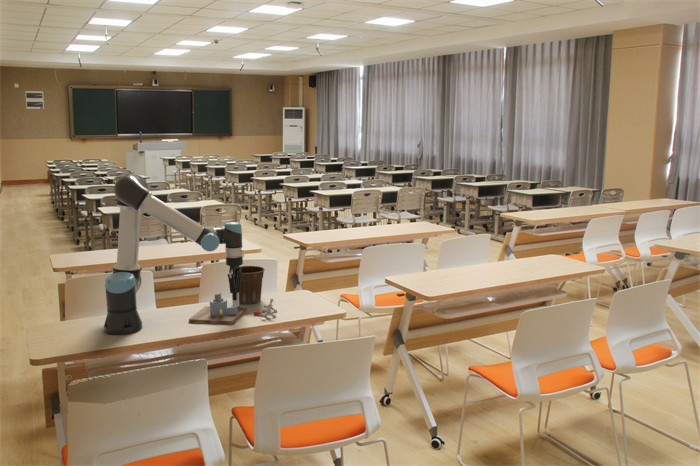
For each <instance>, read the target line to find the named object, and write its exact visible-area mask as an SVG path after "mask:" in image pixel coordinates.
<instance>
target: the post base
mask: <svg viewBox="0 0 700 466" xmlns="http://www.w3.org/2000/svg"><path fill="white" fill-rule="evenodd" d="M213 297H214V299H215V302H221V301H222V300H221V298H222V293H220V292H217V293H216V292H215V293H214V296H213ZM247 309H248V307H240V306H239V307H237V314H236V315H233V314H225V315H222V316H223V317H222V318H220V316H213V315H211V314H210V305H205V306H204V307H202V308H201V309H200V310H199V311H198V312H196V313H194V314H193V316H191V317H190V318H189V319H188V323H191V324H193V323H195V324H213V325H217V324H218V325H234V324H235V323H236V322H237V321H238V320H239V319H240V318H241V317H242V316H243V315H244V314H246V312H247V311H248V310H247Z"/></svg>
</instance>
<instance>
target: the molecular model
mask: <svg viewBox="0 0 700 466" xmlns="http://www.w3.org/2000/svg"><path fill="white" fill-rule="evenodd" d="M273 302H274V298H270V299H269V304H264V307H263V308H262V309H261V310H255V311H254V312H253V315H254V316H258V315H260V314H261V316H262V318H263V317H265V318H266V315H270V316H272V318H273V319H275V318H276V317H277V315H276V314H274V313H277V312H278V310H277V309H275V308H274V307H273ZM272 311H273V313H272Z"/></svg>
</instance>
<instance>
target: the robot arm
mask: <svg viewBox="0 0 700 466" xmlns="http://www.w3.org/2000/svg"><path fill="white" fill-rule="evenodd" d="M148 187H149V186H148V184H147V181H146V180H145V179H144V178H143V177H142V176H141V175H139V174H134V173H127V174H125V175H123V176H122V177H120V178H118V179H117V181H116V182H115V183H114V187H113V190H114V191H113V192H114V195H115V197H116V206H117V207H118V208H119V219H118V220H119V222H118V237H117V252H116V253H117V254H116V255H117V257H116V263H115V264H114V265H113V266H112V274H109V275H107V276H106V278H105V280H104V281H105V282H104V287H105V297H106V298H105V300H106V309H107V310H106V311H107V314H106V317H105V321H104V325H103V331H104V333H105V334H107V335H114V336H115V335H116V336H117V335H118V336H120V335H128V334H133V333H136V332H138V331H141V329H143V321H142V319H141V317H140V315H139V312H138V308H137V306H138V305H137V292H138V291H139V289H140V288H141V285H142V277H141V275H142V274H141V272H142V271H141V270H142V268H141V265H140V264H139V263H138V262H139V251H140V250H139V247H140V245H139V244H140V235H141V234H140V231H141V219H142V218H141V217H142V212H144V214H147V215H149V216H150V217H153V218H154V219H156V220H157V221H159V222H160V223H162V224H164V225H166V226H167V227H169V228H170V229H172V230H174V231H175V232H176V233H177V232H178V233H179V234H181V235H183V236H184V237H186V238H188V239H189V240H191V241H192V242H193V243H195V244H197V245H199V246H201V248H202V249H203V250H204V251H206V252H213V251H215V250H217V249H218V247H219V246H220V245H225V246H224V247H225V248H224V249H225V265H226V266H229V270H228V272H229V273H228V274H227V279H228V285H229V293H230V294H232V295H231V299H232V307H240V303H239V292H241V290H239V289H240V286H241V270H242V269H241V268H240V266H243V264H244V262H243V259H244V257H243V252H244V249H243V230H242V223H241V222H238V221H231V222H225V223H224V226H223V227H205V226H203V225H202V224H200V223H199V222H198V221H197V222H196V221H195V220H193V219H191V218H190V217H188V215H185V214H184V213H182V212H181V211H179V210H177V209H176V208H174V207H172V206H171V205H169V204H168V203H165V202H164V201H162V199H161V200H160V199H159V198H158V197H156V196H155V195H153V194H152V191H151V190H149V189H148Z"/></svg>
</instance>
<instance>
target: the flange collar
mask: <svg viewBox="0 0 700 466" xmlns="http://www.w3.org/2000/svg"><path fill="white" fill-rule="evenodd" d="M221 300H222V301H221V302H215V298H212V299H211V300H210V301H209V306H210V314H211V315H213V316H220V309H222V315H225V314H233V315H236V314H237V307H233V306H228V300H227V299H226V298H222V297H221Z"/></svg>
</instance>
